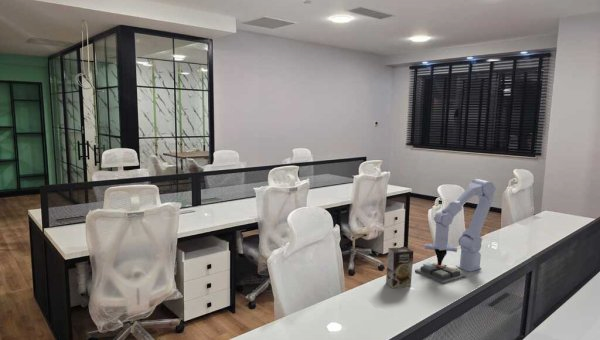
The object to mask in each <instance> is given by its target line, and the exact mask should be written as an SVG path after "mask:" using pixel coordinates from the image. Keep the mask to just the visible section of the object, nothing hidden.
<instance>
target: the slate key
mask: <svg viewBox="0 0 600 340" xmlns="http://www.w3.org/2000/svg"><path fill="white" fill-rule="evenodd" d="M422 266H423V267H424V268H426V269H428V270H432V269H436V265H434V264H433V263H431V262H425V263H423V264H422Z"/></svg>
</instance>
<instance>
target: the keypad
mask: <svg viewBox="0 0 600 340" xmlns="http://www.w3.org/2000/svg"><path fill="white" fill-rule="evenodd" d="M436 263H438V261H437V262H436ZM432 264H434V262H433V263H432ZM443 264H444V263H443ZM444 265H446V266H448V265H447V264H444ZM438 270H443V271H445V272H447V273H448V274H446V275H440V274H438V273H435V271H438ZM414 271H415V272H416V274H417V273H418V274H420V275H422V276H423V277H426V278H428V279H430V280H432V281H435V282H437V283H439V284H441V285H445V284H447V283H451V282H454V281H455V282H456V281H458V280H461V279H465V278H467V275H466V274H464V273H461V271H462V270H459V269H458V271H457V272H453V273H452V272H450V271H447V270H445V266H444V267H438V266H436V269H432V270H428V269H426V268H424V267H423V265H421V266H420V268H417V269H414Z"/></svg>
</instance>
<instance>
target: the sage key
mask: <svg viewBox="0 0 600 340" xmlns="http://www.w3.org/2000/svg"><path fill="white" fill-rule="evenodd" d="M435 273H438V274H440V275H446V274H448V273H447V272H445V271H443V270H438V271H435Z"/></svg>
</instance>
